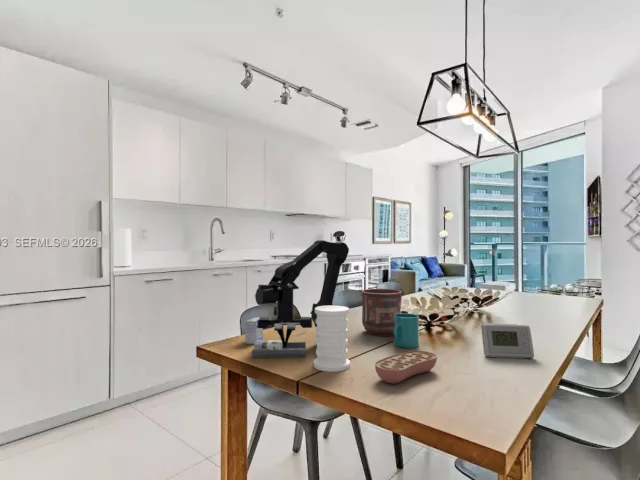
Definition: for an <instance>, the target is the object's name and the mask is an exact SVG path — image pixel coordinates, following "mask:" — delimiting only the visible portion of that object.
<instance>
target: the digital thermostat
mask: <svg viewBox="0 0 640 480" xmlns="http://www.w3.org/2000/svg"><path fill="white" fill-rule="evenodd" d="M480 329H481V339H482V346H483V355H484V356H485V357H487V358H491V357H492V358H495V357H496V359H499V358H500V359H516V358H517V359H519V360H520V359H521V360H522V359H533V358H534V357H535V352H534V346H533V345H534V344H533V339H532V338H533V337H532V332H531V326H530V325H527V324H513V323H510V324H509V323H482V324H481V327H480Z"/></svg>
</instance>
